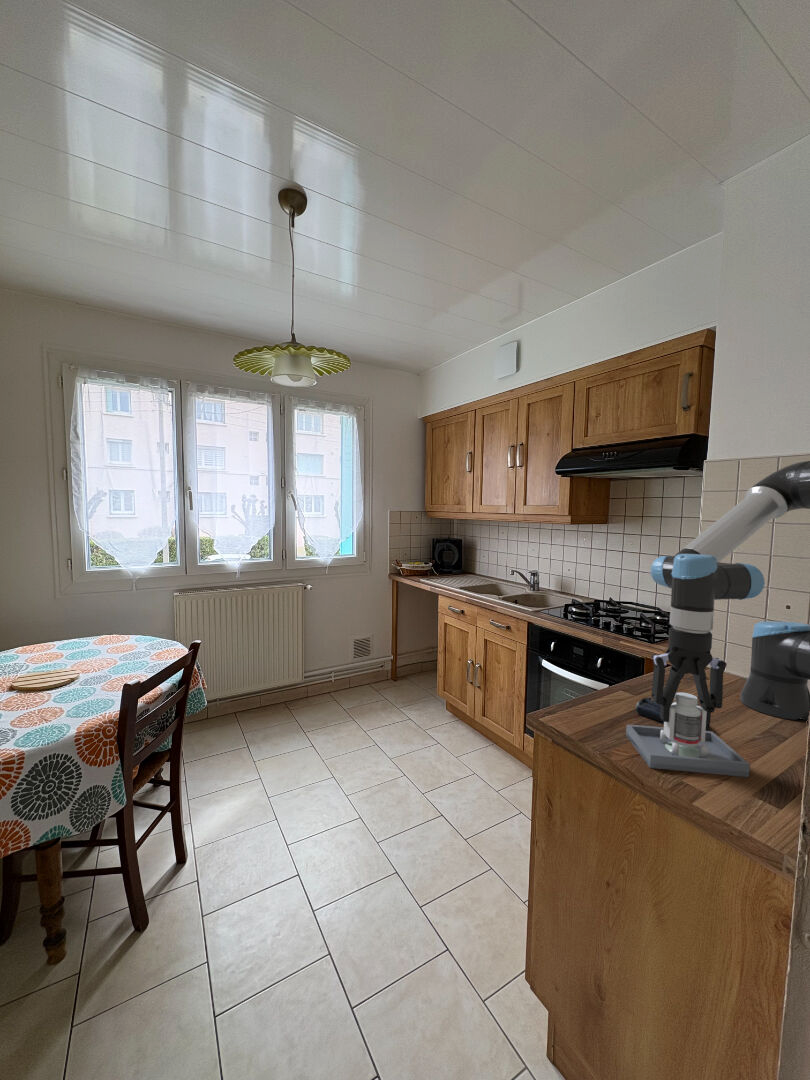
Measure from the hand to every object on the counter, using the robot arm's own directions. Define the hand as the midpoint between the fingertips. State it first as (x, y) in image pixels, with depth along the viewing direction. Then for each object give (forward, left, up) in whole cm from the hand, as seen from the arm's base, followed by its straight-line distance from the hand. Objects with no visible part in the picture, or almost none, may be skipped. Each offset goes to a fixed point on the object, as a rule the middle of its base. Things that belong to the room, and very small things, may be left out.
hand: (683, 737), depth 92 cm
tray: (0, 0, -4) cm, 4 cm away
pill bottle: (0, 0, -1) cm, 1 cm away
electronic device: (-5, -17, -4) cm, 18 cm away
